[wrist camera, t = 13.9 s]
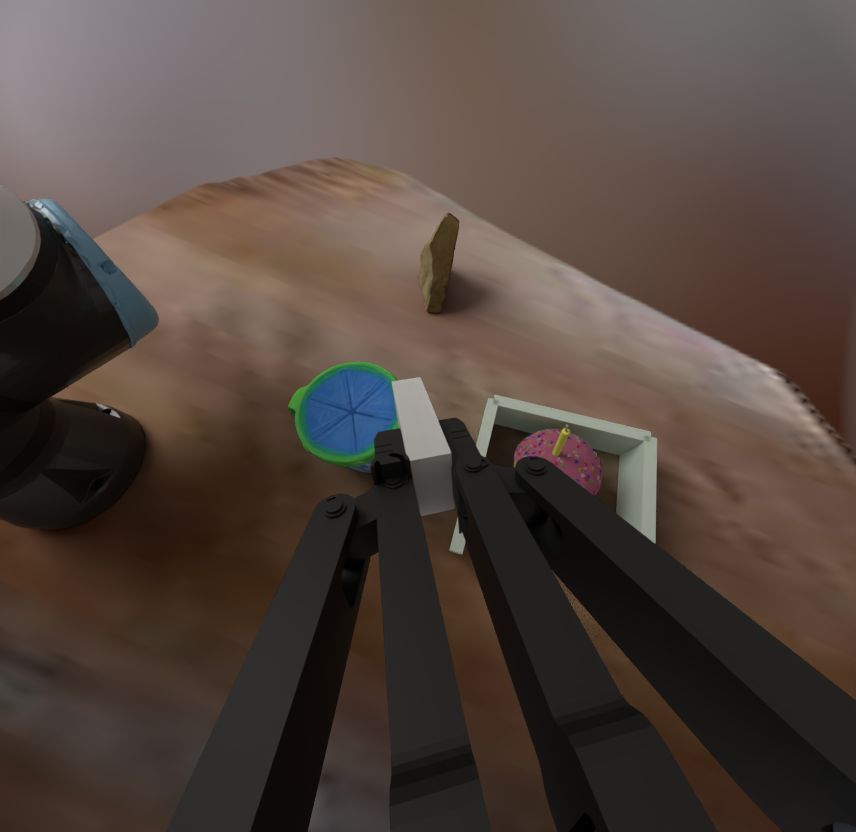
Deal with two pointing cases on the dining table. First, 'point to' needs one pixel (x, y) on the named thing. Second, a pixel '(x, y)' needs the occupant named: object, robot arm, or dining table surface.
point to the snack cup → (345, 413)
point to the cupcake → (565, 455)
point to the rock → (438, 263)
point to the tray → (602, 435)
